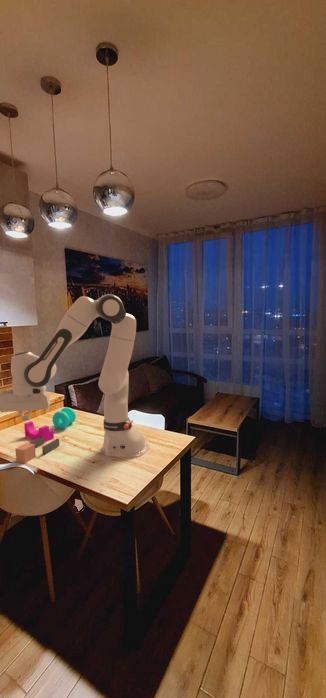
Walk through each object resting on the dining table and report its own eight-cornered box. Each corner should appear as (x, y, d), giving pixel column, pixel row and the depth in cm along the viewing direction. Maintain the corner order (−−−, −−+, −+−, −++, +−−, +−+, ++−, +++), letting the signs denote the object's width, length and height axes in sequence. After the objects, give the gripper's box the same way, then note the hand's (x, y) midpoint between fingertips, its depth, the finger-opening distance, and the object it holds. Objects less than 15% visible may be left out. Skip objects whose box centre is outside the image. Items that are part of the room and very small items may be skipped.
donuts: (51, 429, 164) (50, 411, 163) (61, 422, 174) (60, 406, 173) (67, 430, 162) (66, 412, 161) (77, 423, 172) (76, 407, 171)
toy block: (54, 438, 152) (53, 424, 151) (43, 443, 146) (42, 428, 146) (35, 433, 160) (34, 419, 159) (25, 437, 154) (24, 423, 153)
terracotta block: (35, 457, 132) (34, 444, 131) (25, 463, 126) (24, 450, 125) (27, 455, 133) (26, 442, 133) (16, 461, 128) (15, 448, 127)
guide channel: (59, 445, 143) (59, 438, 142) (44, 455, 133) (44, 447, 133) (42, 442, 146) (41, 436, 146) (26, 451, 137) (26, 444, 136)
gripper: (-5, 392, 123) (-3, 424, 124) (46, 389, 126) (48, 420, 128) (0, 388, 129) (2, 419, 130) (49, 386, 132) (51, 415, 134)
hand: (25, 419), depth 129 cm, fingers closed
